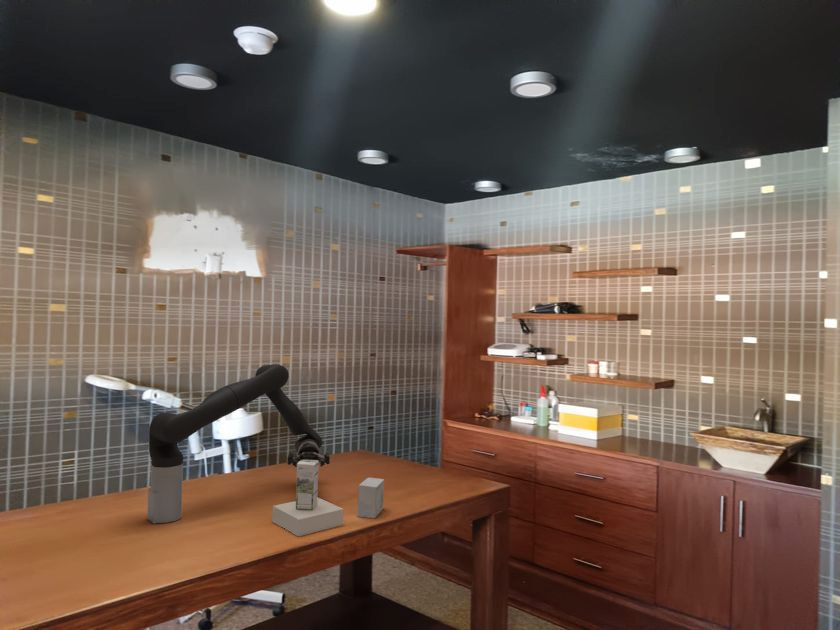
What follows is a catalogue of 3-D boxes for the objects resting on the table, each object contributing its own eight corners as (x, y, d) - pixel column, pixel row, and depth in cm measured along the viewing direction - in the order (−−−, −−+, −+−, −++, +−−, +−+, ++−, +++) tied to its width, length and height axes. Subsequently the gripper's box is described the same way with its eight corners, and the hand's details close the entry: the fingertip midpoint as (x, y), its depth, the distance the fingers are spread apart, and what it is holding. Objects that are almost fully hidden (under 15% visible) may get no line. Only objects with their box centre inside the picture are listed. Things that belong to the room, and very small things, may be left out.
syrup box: (317, 504, 183) (319, 459, 183) (313, 510, 177) (314, 463, 177) (300, 504, 183) (301, 458, 184) (295, 509, 177) (296, 463, 178)
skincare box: (375, 518, 186) (376, 486, 186) (356, 517, 187) (357, 485, 188) (384, 509, 196) (384, 478, 197) (366, 507, 198) (367, 476, 198)
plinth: (298, 536, 169) (298, 519, 169) (272, 521, 181) (272, 505, 181) (343, 524, 180) (343, 508, 180) (315, 511, 191) (316, 496, 191)
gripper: (288, 442, 206) (287, 452, 190) (328, 442, 208) (330, 452, 193) (288, 463, 206) (286, 475, 190) (328, 463, 208) (329, 474, 192)
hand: (308, 463), depth 191 cm, fingers open, 8 cm apart
